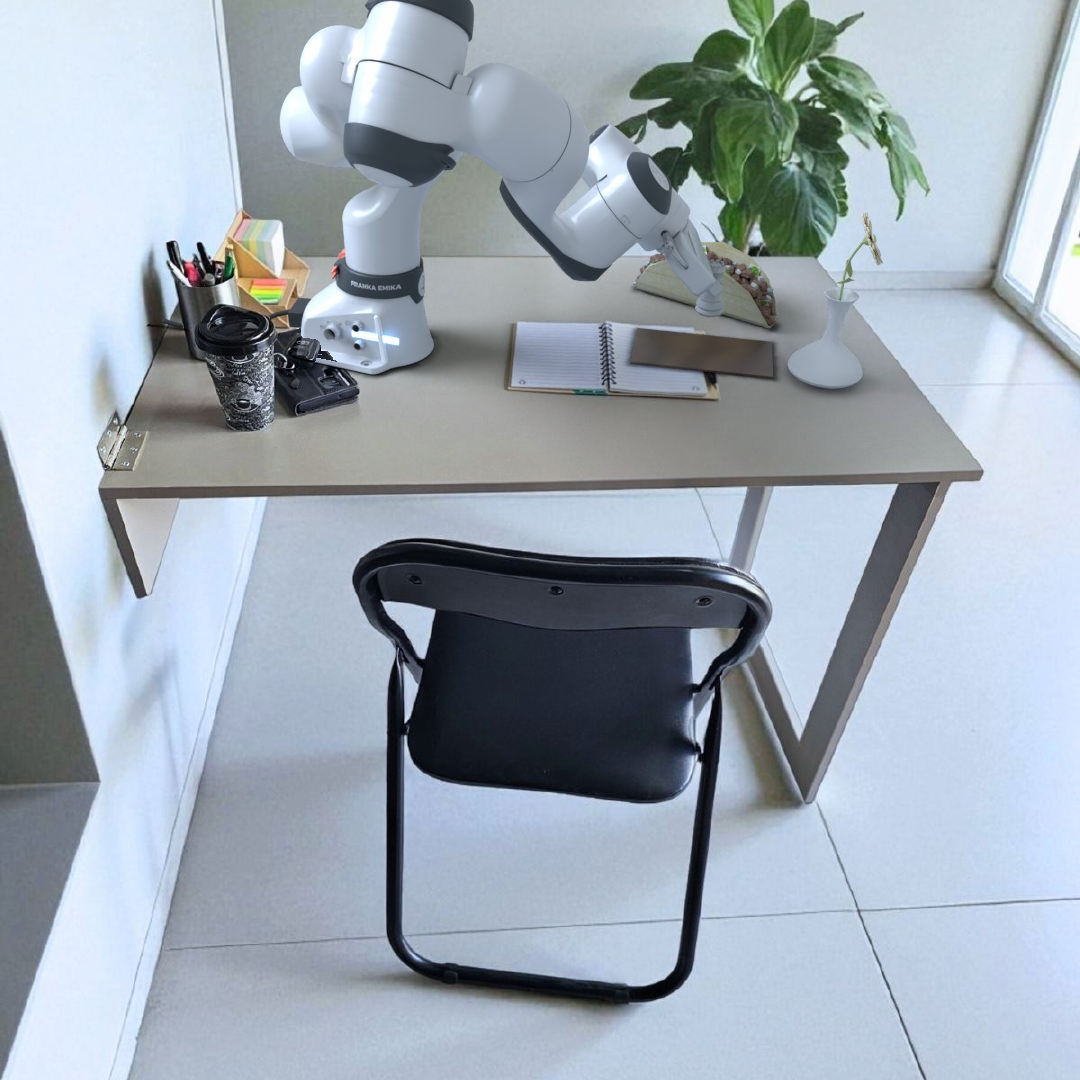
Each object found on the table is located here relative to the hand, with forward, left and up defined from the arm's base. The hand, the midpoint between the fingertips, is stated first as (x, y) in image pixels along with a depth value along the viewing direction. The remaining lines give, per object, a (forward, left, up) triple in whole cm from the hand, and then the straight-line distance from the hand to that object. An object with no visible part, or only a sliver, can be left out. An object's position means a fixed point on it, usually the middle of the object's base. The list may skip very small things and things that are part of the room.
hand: (716, 285), depth 159 cm
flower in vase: (+18, -3, -12) cm, 22 cm away
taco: (-1, +18, -12) cm, 21 cm away
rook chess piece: (-1, 0, -5) cm, 5 cm away
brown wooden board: (-1, 0, -12) cm, 12 cm away
